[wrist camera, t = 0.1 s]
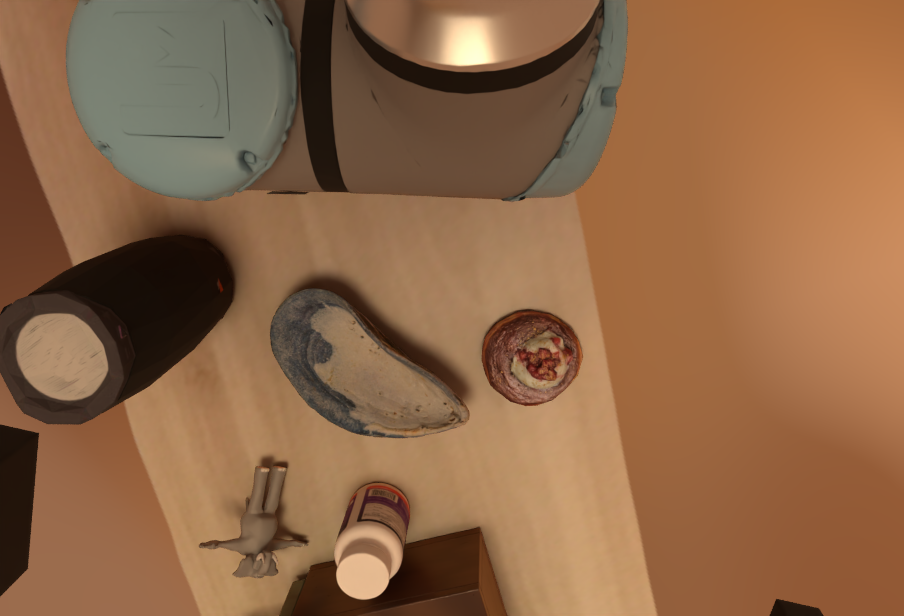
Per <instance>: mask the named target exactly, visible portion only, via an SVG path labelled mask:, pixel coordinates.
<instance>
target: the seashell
mask: <svg viewBox="0 0 904 616" xmlns="http://www.w3.org/2000/svg"><path fill="white" fill-rule="evenodd" d="M270 339H271V347H272V351H273V354H274V356H275V358H276V360H277V361H278V363H279V365H280V367H281V368H282V370H283V372H284V374H285V375H286V376H287V378H288V379H289V380H290V382H291V384H292V385H293V386H294V388H295V389H296V391H297V392H298V393H299V395H300V396H301V397H302V398H303V399H304V400H305V402H306V403H307V404H308V405H309V406H310V407H311V408H313V409H315V410H316V411H317V412H318V413H319V414H320V415H321V416H323V417H324V418H326V419H327V420H328V421H330V422H332V423H334V424H335V425H337V426H339V427H341V428H344V429H346V430H347V431H350V432H353V433H356V434H360V435H365V436H373V437H389V438H408V437H421V436H424V435H428V434H434V433H439V432H443V431H447V430H450V429H453V428H457V427H460V426H462V425H464V424H466V423H467V421H468V420H469V410H468V408H467V407H466V405H465V404H464V402H463V401H462V400H461V399H460V398H459V396H458V395H457V394H456V393H455V392H454V391H453V390H451V389H450V388H449V387H448V386H447V385H446V384H445V383H444V382H443V381H442V380H440V379H439V378H438V377H437V376H435V374H434V373H433V372H432V371H430V370H428V369H426V368H424V367H422V366H421V365H419V364H418V363H416V362H414V361H413V360H411V359H410V358H409V357H408V356H407V355H406V354H405V353H404V352H403V351H402V350H401V349H399V348H398V347H397V346H396V345H394V344H393V343H392V342H391V341H390V340H389V339H388V338H387V337H386V336H385V335H384V334H383V333H382V332H381V331H380V330H379V329H378V328H377V327H376V326H375V325H374V324H372V323H371V322H370V321H369V320H368V319H367V318H366V317H365V316H364V315H363V314H361V313H360V312H359V311H358V310H357V309H355V308H354V307H353V306H351V305H350V304H349V303H348V302H347V301H346V300H345V299H344V298H342V297H341V296H339V295H337V294H336V293H334V292H332V291H328V290H324V289H318V288H314V289H305V290H302V291H299V292H296V293H294V294H293V295H291V296H290V297H288V298H287V299H286V300H285V301H284V302H283V303H282V304H281V306H280V307H279V308H278V310H277V311H276V314H275V315H274V317H273V320H272V323H271V329H270Z"/></svg>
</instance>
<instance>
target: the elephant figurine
mask: <svg viewBox="0 0 904 616" xmlns="http://www.w3.org/2000/svg"><path fill="white" fill-rule="evenodd" d="M286 470H287V468H285V467H280V466H273V468H272V475H271V480H270V486H269V491H268V495H267V499H266V502H265V506H264V507H263V508H262V503H263V497H264V492H265V487H266V482H267V476H268V472H269V471H270V469H269V468H266V467H260V466H256V468H255V474H254V485H253V491H252V495H251V499H250V502H249V501H248V498H246V512H245V513H244V514H243V515H242V517H241V520H240V525H241V536H240V537H239V538H238V539H232V540H227V541H217V540H213V541H209V542H206V543H201V544H200V545H199V547H200V548H208V549H216V548H218V547H222V548H226V549H229V550H232V551H237V552H239V553H240V554H242V555H246V558H245V559H242V560H241V562H240V564H239V567H238V569H237V570H236V571H235V572H234V573H233V575H234V576H236V577H247V576H249V577H254V578H262V577H264V576H274V575H276V574H277V573H278V570H277V569H276V564H277V565H278V564H279V562H278V560H277V557H276V555H275V554H274V553H273V552H271V551H274V550H278V549H281V548H286V547H290V546H294V547H301V546H305V545H306V546H308V544H307V543H306V542H303V541H298V540H282V539H272V538H273V536H274V535H275V533H276V531H277V528H278V524H277V519H276V515H275V511H276V509H277V507H278V503H279V497H280V492H281V487H282V483H283V479H284V476H285V472H286Z"/></svg>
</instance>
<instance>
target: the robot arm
mask: <svg viewBox="0 0 904 616" xmlns="http://www.w3.org/2000/svg"><path fill="white" fill-rule="evenodd" d="M627 34H628V16H627V2H626V0H79V2H78V4H77V6H76V9H75V11H74V14H73V16H72V20H71V24H70V28H69V32H68V38H67V44H66V71H67V80H68V86H69V91H70V95H71V99H72V102H73V105H74V108H75V111H76V113H77V116H78V118H79V120H80V123H81V125H82V127H83V129H84V130H85V132H86V134H87V135H88V137H89V139H90V140H91V142H92V143H93V145H94V146H95V147H96V148H97V149H98V150H100V152H101V154H102V155H104V156H105V157H106V158H107V159H108V160H109V161H110V162H111V163H112V164H113V166H114V168H115V169H116V170H117V171H119V172H120V173H121V174H122V175H124V176H125V177H126V178H128V179H129V180H131V181H133V182H134V183H136V184H138V185H140V186H141V187H143V188H145V189H148V190H150V191H153V192H155V193H158V194H161V195H165V196H169V197H175V198H183V199H190V200H202V201H210V200H217V199H219V198H221V197H225V196H232V195H233V194H234V193H235V191H236V192H242V191H243V190H275V191H272V192H269V193H267V194H306V193H308V192H291V191H314V192H350V193H365V194H393V195H416V196H438V197H460V198H482V199H501V200H502V201H509V202H514V201H520V200H523V199H525V198H543V197H561V196H565V195H568V194H570V193H572V192H574V191H576V190H577V189H578V188H579V187H581V186H582V185H583V184H584V183H585V182H586V181H587V180H588V178H589V177H590V176H591V174H592V173H593V171H594V169H595V168H596V166H597V164H598V162H599V160H600V158H601V156H602V153H603V151H604V149H605V146H606V143H607V140H608V138H609V135H610V132H611V128H612V125H613V121H614V117H615V113H616V93H617V91H618V89H619V87H620V85H621V82H622V78H623V73H624V66H625V58H626V50H627ZM279 191H289V192H279ZM38 437H39V433H35V432H31V431H27V430H22V429H18V428H13V427H9V426H5V425H0V596H1V595H2V594H3V593H4V592H5V591H6V590H7V589H8V588H9V587H10V586H11V585H12V584H13V583H14V582H15V581H16V580H17V579H18V578H19V577H20V576H21V575H22V574H23V573H24V572H25V571H26V570H27V569H28V559H29V547H30V534H31V522H32V510H33V498H34V486H35V474H36V461H37V450H38ZM770 616H823V614H822V613H821V611H820V610H819V609H818V608H814V607H810V606H806V605H801V604H797V603H793V602H788V601H784V600H779V599H776V601H775V604H774V606H773V609H772V611H771V614H770Z"/></svg>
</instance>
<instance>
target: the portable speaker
mask: <svg viewBox="0 0 904 616" xmlns="http://www.w3.org/2000/svg"><path fill="white" fill-rule="evenodd" d="M231 303H232V278H231V276H230V273H229V270H228V268H227V265H226V263H225V261H224V257H223V254H222V253H221V252H220V251H219V250H218V249H217V248H215V247H214V246H213V245H212V244H211V243H210V242H208V241H207V240H206V239H203V238H196V237H190V236H184V235H175V236H166V237H156V238H149V239H145V240H141V241H137V242H133V243H130V244H127V245H125V246H122V247H120V248H117V249H115V250H112V251H110V252H107V253H105V254H102V255H100V256H97V257H95V258H92V259H89V260H87V261H84V262H82V263H80V264H78V265H76V266H74V267H72V268H70V269H68V270H66V271H64V272H63V273H61V274H60V275H58V276H56V277H55V278H53V279H52V280H50V281H49V282H47V283H46V284H44V285H43V286H41V287H40V288H38V289H37V290H35V291H34V292H32V293H31V294H29V295H28V296H27V297H24V298H21V299H18V300H16V301H15V302H14V303H13V304H9V305H8V306H6V307H4V308H3V310H2V312H1V314H0V373H1V375H2V377H3V379H4V381H5V383H6V384H7V386H8V388H9V390H10V392H11V394H12V396H13V398H14V400H15V402H16V404H17V405H18V406H19V408H20V409H21V410H22V412H23V413H24V414H27V415H29V416H31V417H33V418H35V419H38V420H40V421H42V422H44V423H46V424H82V423H85V422H87V421H89V420H91V419H93V418H95V417H96V416H98V415H99V414H101V413H103V412H105V411H107V410H109V409H110V408H112V407H114V406H116V405H117V404H119V403H121V402H123V401H124V400H126V399H128V398H130V397H131V396H133V395H135V394H137V393H138V392H140V391H142V390H144V389H145V388H147V387H149V386H150V385H151V384H152V383H154V382H155V381H156V380H157V379H158V378H160V377H161V376H162V375H163V374H164V373H166V372H167V371H168V370H169V369H171V368H172V367H173V366H174V365H175V364H177V363H178V362H179V361H180V360H181V359H183V358H184V357H185V356H186V355H188V354H189V353H190V352H191V351H192V350H194V349H195V348H196V346H197V345H198V344H199V343H200V342H201V341H202V340H203V339H204V337H205V336H206V335H207V334H208V333H209V332H210V331H211V330H212V328H213V327H214V326H215V325H216V324H217V322H218V321H219V320H220V319H222V318H223V316H224V315H225V313H226V311H227V310H228V308H229V306H230V305H231Z"/></svg>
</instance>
